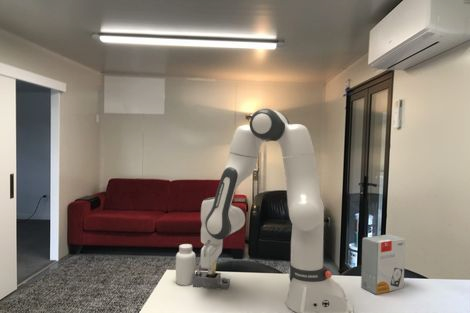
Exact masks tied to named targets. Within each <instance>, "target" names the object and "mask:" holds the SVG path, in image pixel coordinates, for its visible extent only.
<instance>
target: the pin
mask: <svg viewBox="0 0 470 313" xmlns="http://www.w3.org/2000/svg"><path fill="white" fill-rule="evenodd" d="M212 268H213V273H212V274H208V277H211V278H215V273H216V269H215V262H214V263H213V266H212Z"/></svg>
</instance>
